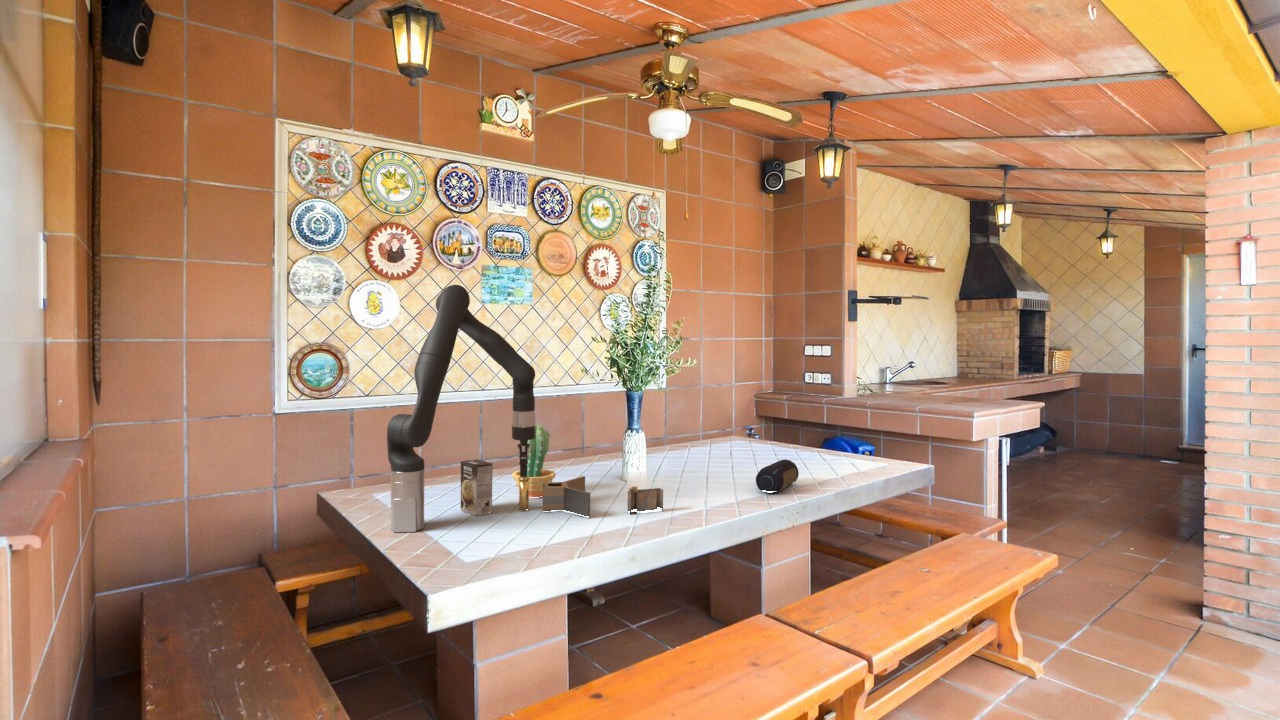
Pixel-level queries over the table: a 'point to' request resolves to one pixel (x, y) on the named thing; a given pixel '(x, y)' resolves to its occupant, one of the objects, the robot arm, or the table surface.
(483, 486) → the coffee box
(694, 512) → the table surface
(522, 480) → the hinge pin
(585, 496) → the hinge
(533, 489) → the potted cactus
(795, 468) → the portable speaker
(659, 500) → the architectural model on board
